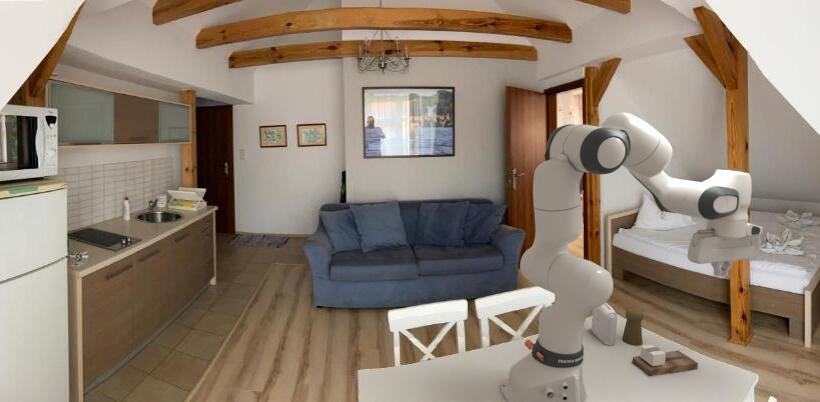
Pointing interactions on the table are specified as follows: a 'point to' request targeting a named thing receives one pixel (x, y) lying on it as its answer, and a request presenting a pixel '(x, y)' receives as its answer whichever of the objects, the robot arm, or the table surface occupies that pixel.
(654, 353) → the fader tab
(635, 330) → the cork
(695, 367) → the slider board
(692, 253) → the robot arm
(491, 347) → the table surface
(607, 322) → the photo printer
